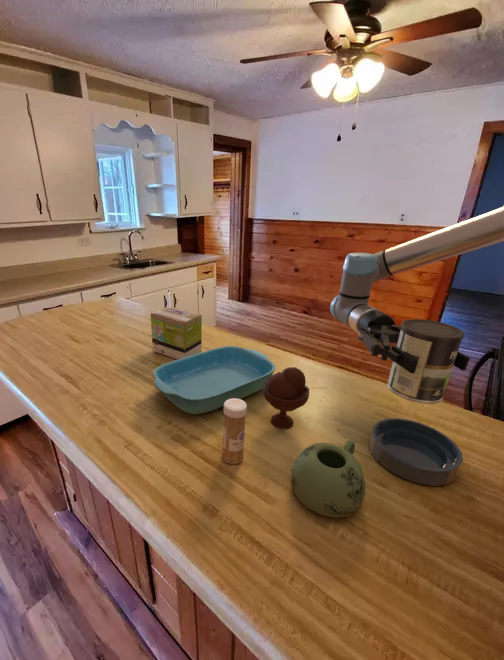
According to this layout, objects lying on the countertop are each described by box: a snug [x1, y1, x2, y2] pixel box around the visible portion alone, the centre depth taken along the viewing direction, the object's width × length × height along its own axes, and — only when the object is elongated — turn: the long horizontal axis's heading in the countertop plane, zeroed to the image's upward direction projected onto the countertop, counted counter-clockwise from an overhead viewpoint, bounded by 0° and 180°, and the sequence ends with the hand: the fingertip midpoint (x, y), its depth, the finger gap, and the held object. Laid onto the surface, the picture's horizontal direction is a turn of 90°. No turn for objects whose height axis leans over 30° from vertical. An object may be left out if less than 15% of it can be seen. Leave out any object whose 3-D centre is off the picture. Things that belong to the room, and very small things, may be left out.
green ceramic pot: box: [291, 439, 366, 519], centre depth 62 cm, size 16×13×9 cm
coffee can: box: [386, 318, 465, 405], centre depth 67 cm, size 10×10×14 cm
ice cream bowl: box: [261, 366, 310, 430], centre depth 80 cm, size 11×11×15 cm
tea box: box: [150, 306, 203, 360], centre depth 116 cm, size 15×10×15 cm, turn 55°
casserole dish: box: [152, 345, 276, 416], centre depth 95 cm, size 37×22×7 cm, turn 127°
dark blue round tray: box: [368, 417, 464, 486], centre depth 71 cm, size 16×16×4 cm
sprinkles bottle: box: [221, 398, 248, 465], centre depth 69 cm, size 5×5×14 cm
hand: (440, 365), depth 63 cm, fingers closed on coffee can, 10 cm apart
